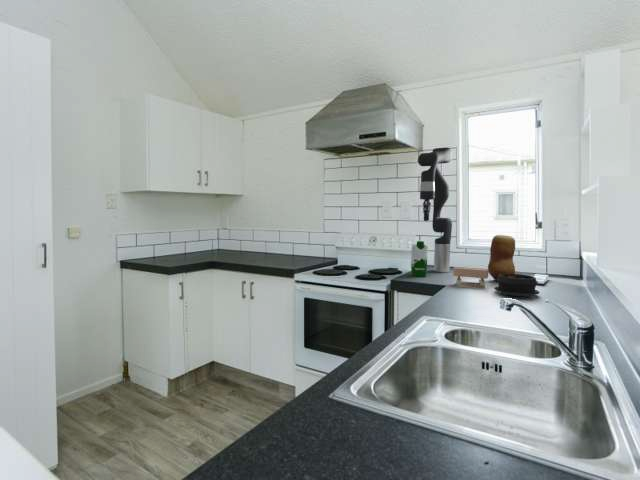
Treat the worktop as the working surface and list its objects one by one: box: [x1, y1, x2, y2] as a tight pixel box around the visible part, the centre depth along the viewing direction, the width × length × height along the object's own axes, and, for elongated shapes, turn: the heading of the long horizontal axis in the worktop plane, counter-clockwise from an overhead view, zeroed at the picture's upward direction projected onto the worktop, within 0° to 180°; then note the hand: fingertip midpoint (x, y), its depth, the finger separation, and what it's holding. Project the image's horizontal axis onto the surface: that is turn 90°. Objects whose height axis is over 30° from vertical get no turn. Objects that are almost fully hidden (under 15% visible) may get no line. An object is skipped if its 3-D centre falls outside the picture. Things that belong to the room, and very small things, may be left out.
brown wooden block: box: [452, 266, 489, 280], centre depth 200 cm, size 4×16×4 cm, turn 61°
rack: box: [456, 276, 486, 289], centre depth 201 cm, size 10×13×4 cm
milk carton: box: [410, 240, 428, 278], centre depth 228 cm, size 9×9×20 cm
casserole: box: [494, 273, 540, 298], centre depth 180 cm, size 25×19×8 cm
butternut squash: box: [487, 234, 516, 283], centre depth 213 cm, size 14×13×25 cm
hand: (426, 220), depth 214 cm, fingers open, 8 cm apart
